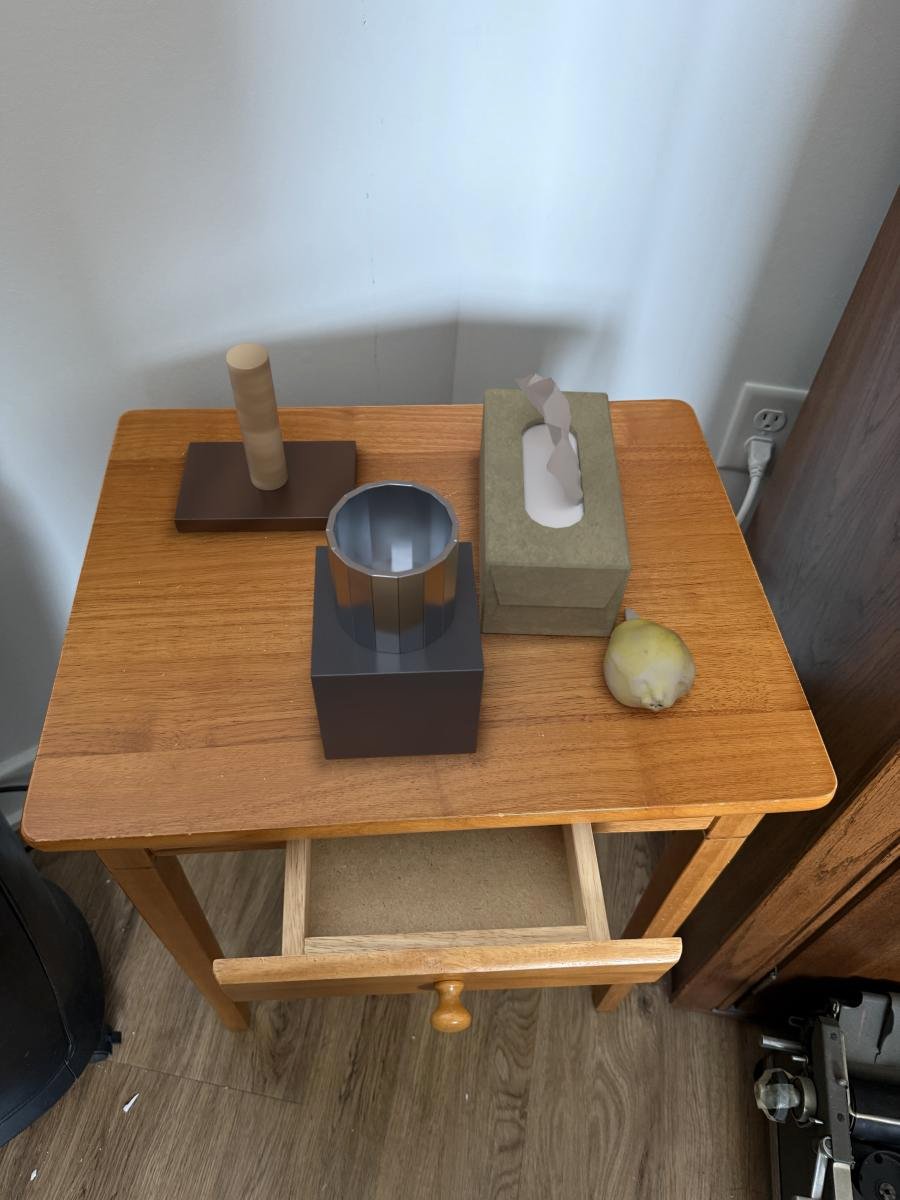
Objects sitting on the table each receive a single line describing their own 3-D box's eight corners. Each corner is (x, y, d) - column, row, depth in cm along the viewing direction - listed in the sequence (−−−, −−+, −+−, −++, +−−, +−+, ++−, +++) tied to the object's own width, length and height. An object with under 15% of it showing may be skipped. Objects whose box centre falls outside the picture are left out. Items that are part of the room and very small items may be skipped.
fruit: (663, 614, 67) (714, 718, 60) (587, 640, 67) (628, 745, 60) (654, 561, 63) (707, 665, 56) (573, 589, 63) (615, 695, 56)
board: (177, 532, 71) (173, 519, 69) (192, 454, 76) (189, 441, 75) (354, 530, 71) (353, 517, 70) (356, 453, 77) (355, 440, 76)
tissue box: (479, 460, 77) (490, 297, 64) (592, 463, 77) (625, 302, 64) (479, 637, 65) (493, 481, 53) (612, 641, 65) (657, 487, 53)
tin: (313, 623, 53) (301, 545, 48) (374, 544, 57) (370, 463, 52) (419, 671, 51) (419, 596, 46) (475, 586, 55) (481, 507, 50)
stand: (324, 759, 59) (310, 676, 51) (328, 636, 65) (315, 545, 57) (476, 753, 59) (484, 670, 51) (465, 632, 65) (471, 541, 57)
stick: (243, 482, 72) (217, 360, 63) (265, 460, 74) (242, 337, 64) (274, 495, 71) (252, 373, 62) (295, 472, 73) (276, 350, 64)
